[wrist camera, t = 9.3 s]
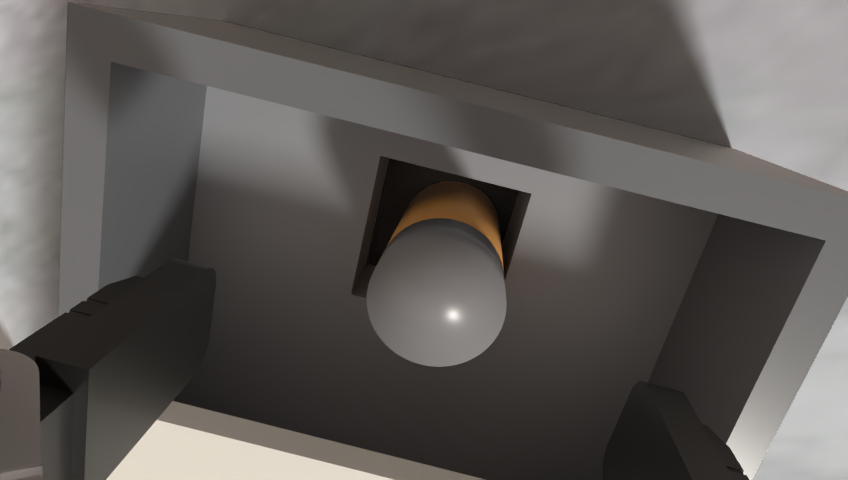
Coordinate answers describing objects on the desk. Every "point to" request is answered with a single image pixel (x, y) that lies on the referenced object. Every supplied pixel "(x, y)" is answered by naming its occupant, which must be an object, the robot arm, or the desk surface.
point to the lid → (255, 453)
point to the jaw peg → (441, 278)
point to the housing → (521, 251)
